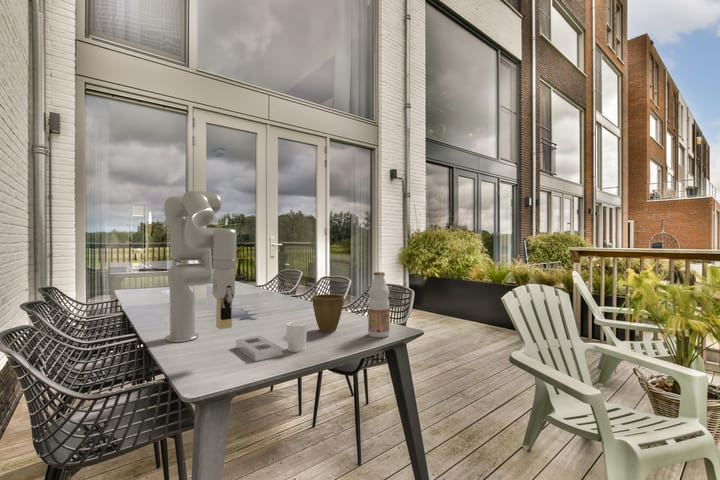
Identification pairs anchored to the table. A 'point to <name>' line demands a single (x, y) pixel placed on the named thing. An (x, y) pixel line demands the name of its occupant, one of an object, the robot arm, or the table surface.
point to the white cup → (296, 336)
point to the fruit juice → (378, 307)
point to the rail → (258, 348)
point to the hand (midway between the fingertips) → (223, 317)
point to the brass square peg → (220, 323)
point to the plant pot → (327, 311)
